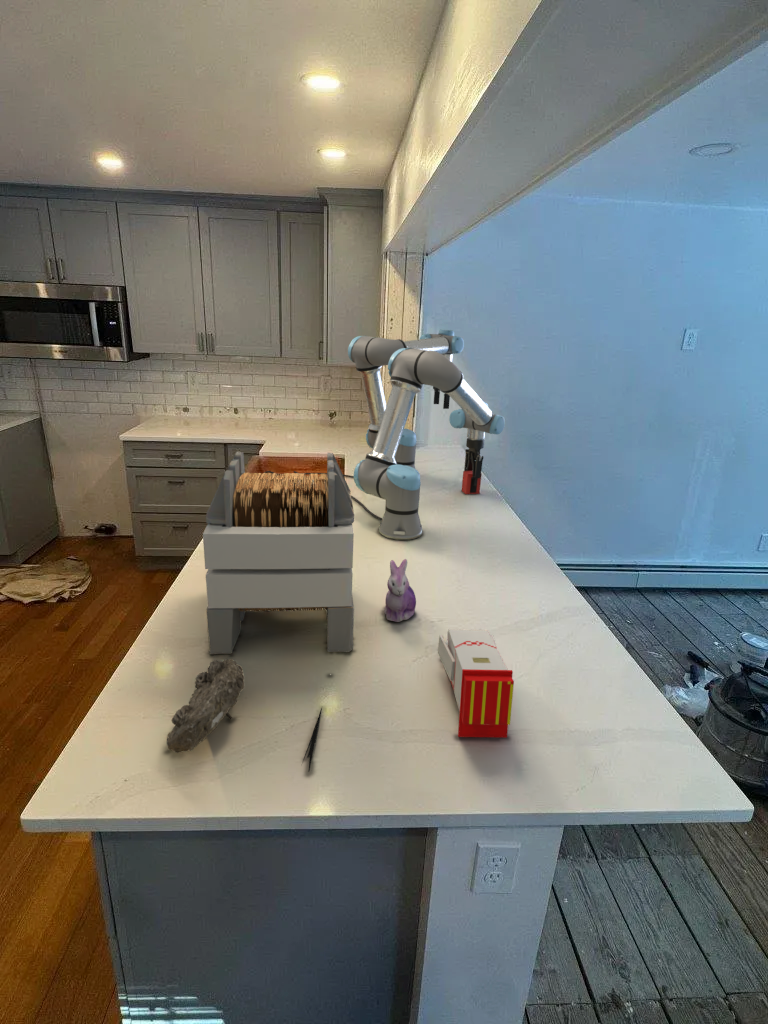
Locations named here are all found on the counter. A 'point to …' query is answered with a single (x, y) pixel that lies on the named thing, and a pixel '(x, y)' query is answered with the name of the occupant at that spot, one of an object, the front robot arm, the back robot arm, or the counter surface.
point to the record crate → (279, 550)
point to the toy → (478, 682)
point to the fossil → (206, 705)
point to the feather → (313, 740)
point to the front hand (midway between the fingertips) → (470, 490)
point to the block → (469, 483)
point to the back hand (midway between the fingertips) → (441, 406)
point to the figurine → (399, 594)
